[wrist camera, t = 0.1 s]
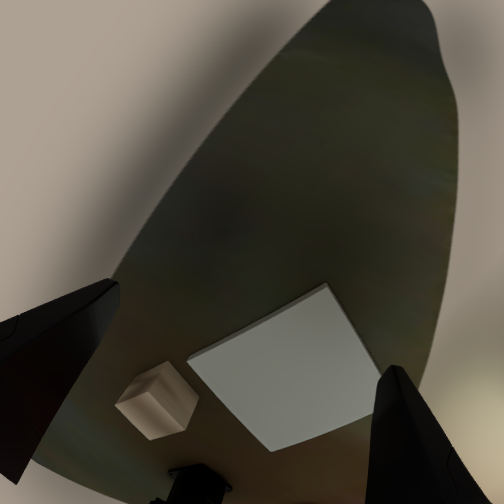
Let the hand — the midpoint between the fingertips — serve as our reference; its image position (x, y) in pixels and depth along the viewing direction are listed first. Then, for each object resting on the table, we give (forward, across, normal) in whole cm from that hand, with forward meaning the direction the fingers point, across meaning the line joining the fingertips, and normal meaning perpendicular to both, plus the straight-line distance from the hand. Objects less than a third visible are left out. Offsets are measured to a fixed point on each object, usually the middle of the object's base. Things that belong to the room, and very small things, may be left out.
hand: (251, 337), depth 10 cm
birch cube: (+10, +6, +22) cm, 25 cm away
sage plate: (+12, -5, +16) cm, 21 cm away
